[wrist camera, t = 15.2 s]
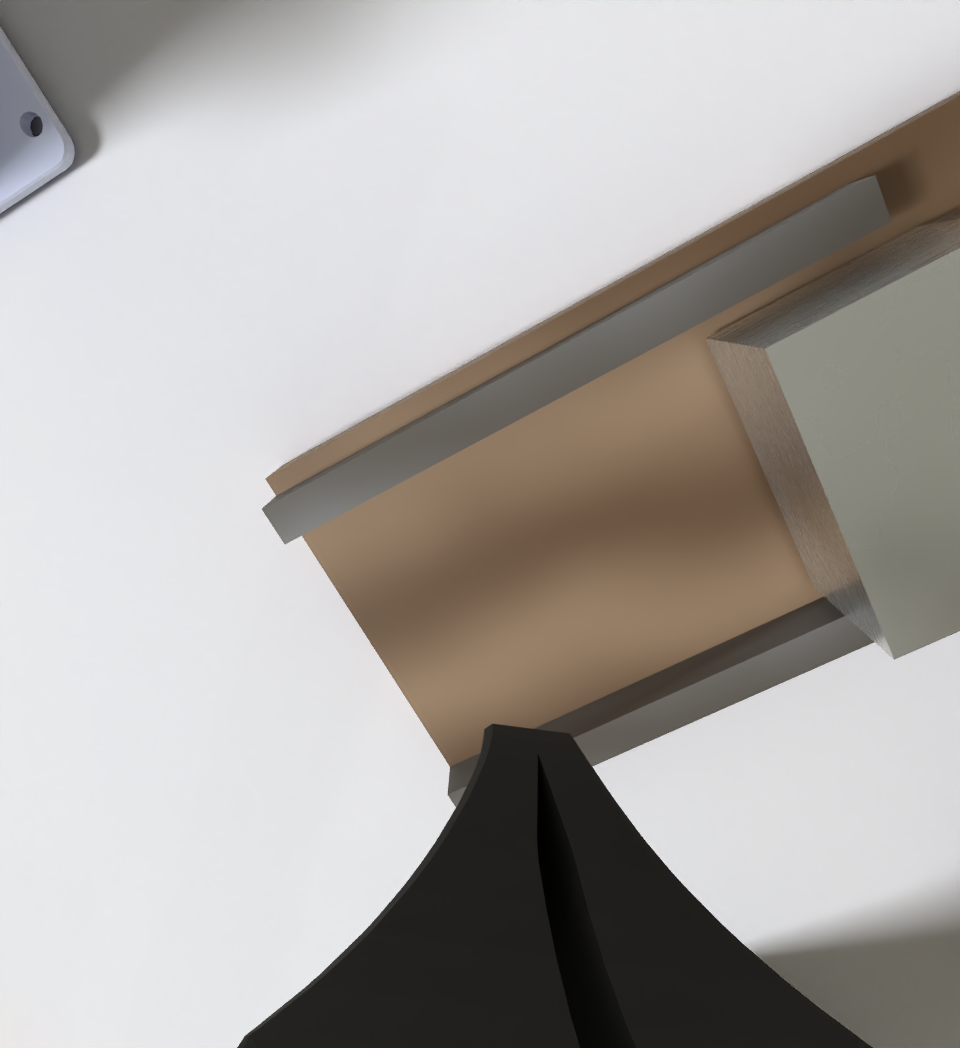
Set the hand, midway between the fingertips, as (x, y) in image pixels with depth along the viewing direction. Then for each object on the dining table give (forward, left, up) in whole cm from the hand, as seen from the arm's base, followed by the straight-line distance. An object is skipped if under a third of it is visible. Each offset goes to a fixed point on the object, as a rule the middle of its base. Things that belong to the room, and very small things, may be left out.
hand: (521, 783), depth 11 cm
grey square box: (0, +10, -8) cm, 12 cm away
